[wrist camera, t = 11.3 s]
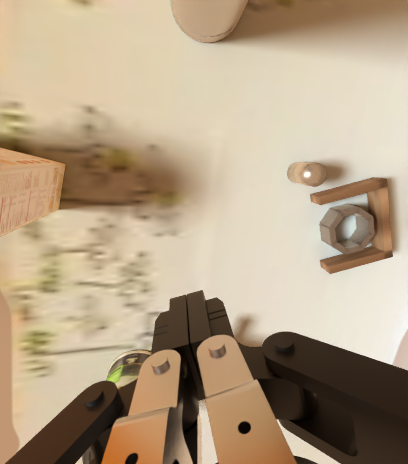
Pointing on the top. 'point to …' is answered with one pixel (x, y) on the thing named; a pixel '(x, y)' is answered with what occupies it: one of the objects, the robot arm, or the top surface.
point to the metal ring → (359, 236)
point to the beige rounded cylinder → (307, 173)
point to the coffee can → (123, 376)
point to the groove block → (381, 217)
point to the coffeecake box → (27, 188)
